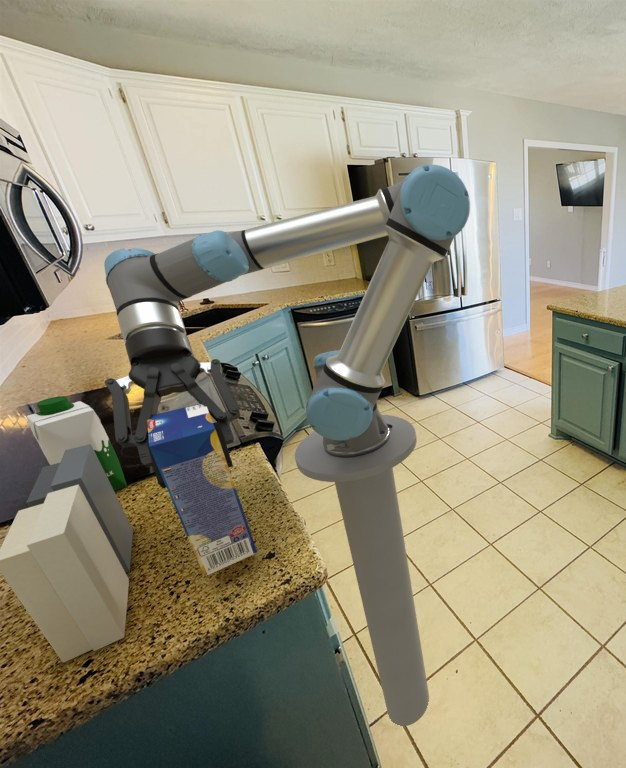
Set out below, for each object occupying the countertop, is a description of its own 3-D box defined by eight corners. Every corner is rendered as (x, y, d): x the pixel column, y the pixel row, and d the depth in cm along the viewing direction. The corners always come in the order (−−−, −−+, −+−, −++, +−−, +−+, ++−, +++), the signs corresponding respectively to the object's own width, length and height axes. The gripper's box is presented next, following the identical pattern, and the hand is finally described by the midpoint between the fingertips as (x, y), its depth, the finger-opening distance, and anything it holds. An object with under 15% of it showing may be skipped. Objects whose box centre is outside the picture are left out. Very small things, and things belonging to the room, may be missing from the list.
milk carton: (118, 472, 90) (79, 389, 82) (134, 485, 85) (94, 399, 77) (63, 494, 83) (14, 406, 75) (77, 509, 78) (27, 417, 70)
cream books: (129, 579, 63) (78, 484, 56) (124, 637, 54) (63, 532, 47) (76, 601, 59) (15, 502, 52) (62, 666, 51) (-14, 558, 44)
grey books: (133, 530, 73) (90, 443, 66) (129, 571, 64) (80, 477, 57) (88, 545, 70) (38, 456, 63) (78, 592, 61) (19, 494, 54)
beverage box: (244, 516, 71) (205, 402, 62) (257, 552, 63) (215, 428, 54) (196, 535, 66) (147, 416, 58) (204, 577, 59) (149, 446, 50)
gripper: (234, 339, 71) (276, 457, 66) (78, 365, 60) (113, 510, 55) (229, 315, 66) (274, 442, 60) (55, 339, 54) (92, 497, 49)
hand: (197, 474), depth 58 cm, fingers closed on beverage box, 7 cm apart
